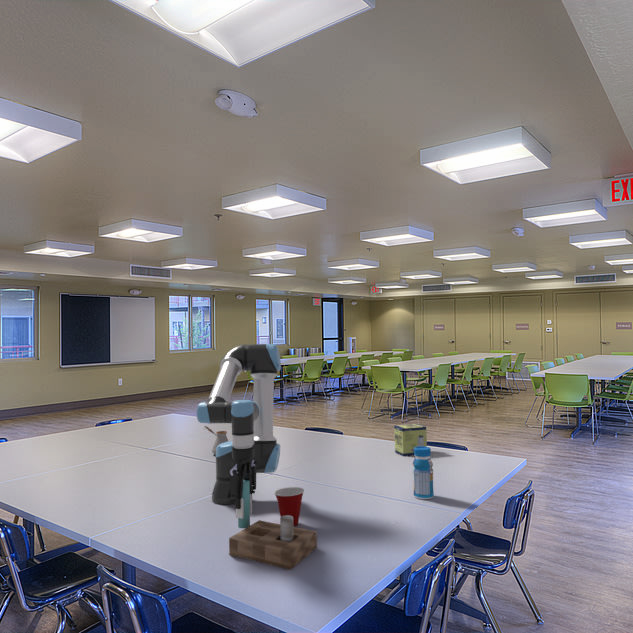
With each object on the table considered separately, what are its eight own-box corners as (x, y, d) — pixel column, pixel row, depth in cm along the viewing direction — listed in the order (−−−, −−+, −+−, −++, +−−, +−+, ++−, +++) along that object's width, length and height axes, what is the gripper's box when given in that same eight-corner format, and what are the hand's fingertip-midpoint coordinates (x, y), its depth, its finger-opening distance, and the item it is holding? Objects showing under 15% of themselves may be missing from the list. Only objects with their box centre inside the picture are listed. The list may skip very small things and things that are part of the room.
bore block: (259, 535, 160) (259, 502, 160) (316, 547, 149) (316, 512, 150) (229, 554, 146) (229, 518, 146) (290, 569, 135) (289, 530, 136)
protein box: (394, 452, 274) (393, 425, 275) (418, 450, 278) (417, 423, 279) (403, 456, 264) (402, 428, 265) (427, 454, 268) (426, 426, 269)
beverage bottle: (419, 501, 191) (417, 450, 192) (409, 494, 199) (408, 446, 200) (438, 498, 193) (436, 449, 194) (427, 492, 201) (426, 444, 202)
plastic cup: (292, 515, 177) (292, 483, 177) (310, 524, 169) (310, 490, 169) (268, 523, 170) (268, 489, 170) (286, 532, 162) (285, 496, 162)
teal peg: (242, 522, 164) (242, 479, 164) (252, 524, 162) (251, 480, 162) (235, 527, 160) (235, 482, 161) (245, 529, 158) (244, 484, 159)
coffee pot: (235, 453, 277) (235, 427, 278) (220, 457, 268) (220, 430, 269) (212, 449, 291) (212, 424, 291) (197, 452, 282) (196, 427, 282)
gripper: (248, 439, 171) (249, 505, 170) (218, 450, 156) (219, 522, 155) (266, 441, 168) (267, 508, 167) (236, 453, 153) (237, 526, 152)
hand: (243, 515), depth 161 cm, fingers closed on teal peg, 4 cm apart
